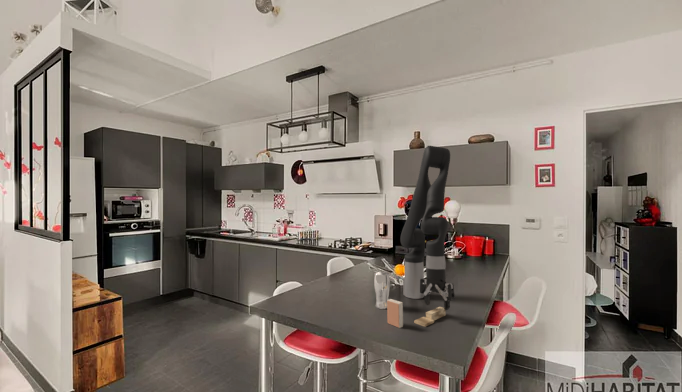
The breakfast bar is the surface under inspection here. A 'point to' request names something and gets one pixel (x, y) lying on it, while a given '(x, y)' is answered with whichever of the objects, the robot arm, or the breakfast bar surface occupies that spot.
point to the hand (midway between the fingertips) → (437, 307)
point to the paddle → (431, 316)
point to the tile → (395, 313)
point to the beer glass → (381, 289)
